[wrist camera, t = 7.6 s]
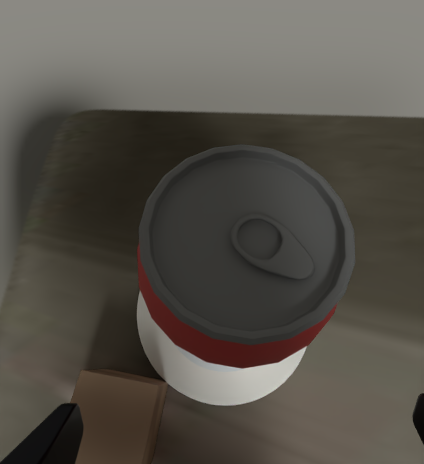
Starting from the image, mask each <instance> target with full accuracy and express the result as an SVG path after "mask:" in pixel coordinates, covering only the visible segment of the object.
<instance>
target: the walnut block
mask: <svg viewBox="0 0 424 464" xmlns="http://www.w3.org/2000/svg"><path fill="white" fill-rule="evenodd" d="M167 388H168V383H167V382H166V381H165V380H160V379H155V378H150V377H145V376H140V375H135V374H130V373H125V372H120V371H115V370H110V369H93V370H81V371H80V374H79V378H78V381H77V384H76V387H75V390H74V393H73V396H72V399H71V402H70V403H77V404H78V405H79V407H80V411H81V416H82V420H83V425H84V430H83V436H82V440H81V444H80V447H79V451H78V455H77V459H76V462H75V464H151V462H152V460H153V455H154V450H155V445H156V441H157V436H158V431H159V426H160V422H161V417H162V412H163V407H164V402H165V398H166V393H167Z"/></svg>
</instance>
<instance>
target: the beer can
mask: <svg viewBox="0 0 424 464" xmlns="http://www.w3.org/2000/svg"><path fill="white" fill-rule="evenodd" d="M137 257H138V276H139V288H140V291H141V293H142V296H143V298H144V301H145V303H146V306H147V308H148V311H149V313H150V315H151V318H152V319H153V320H154V321H155V323H156V324H157V325H158V326H159V327H160V328H161V329H162V331H163V332H164V333H165V334H166V335H167V336H168V337H169V339H170V340H171V341H172V342H173V343H174V344H175V345H177V346H178V347H180V348H182V349H184V350H185V351H187V352H189V353H191V354H193V355H194V356H196V357H198V358H200V359H201V360H203V361H205V362H207V363H212V364H218V365H224V366H229V367H235V368H241V369H244V368H250V367H256V366H262V365H268V364H273V363H279V362H280V361H282V360H284V359H286V358H287V357H289V356H291V355H292V354H294V353H296V352H298V351H299V350H301V349H303V348H305V347H306V346H308V345H309V344H310V343H311V342H312V340H313V339H314V338H315V337H316V335H317V334H318V333H319V332H320V331H321V329H322V328H323V327H324V326H325V324H326V323H327V322H328V321H329V320H330V318H331V317H332V315H333V314H334V312H335V309H336V306H337V303H338V301H339V300H340V299H341V298H342V296H343V295H344V294H345V292H346V289H347V286H348V283H349V280H350V277H351V273H352V270H353V267H354V264H355V244H354V229H353V227H352V224H351V222H350V219H349V216H348V214H347V211H346V209H345V206H344V203H343V201H342V200H341V199H340V197H339V196H338V195H337V193H336V192H335V191H334V190H333V188H332V187H331V186H330V185H329V183H328V182H327V181H326V179H325V178H324V177H323V176H321V175H320V174H319V173H317V172H316V171H315V170H313V169H312V168H310V167H309V166H308V165H306V164H305V163H304V162H302V161H301V160H300V159H297V158H295V157H292V156H290V155H287V154H285V153H282V152H280V151H277V150H275V149H272V148H266V147H258V146H251V145H243V144H241V145H233V146H224V147H216V148H212V149H209V150H207V151H204V152H201V153H199V154H196V155H194V156H191V157H189V158H186V159H185V160H184V161H183V162H181V163H180V164H179V165H177V166H176V167H175V168H173V169H172V170H171V171H170V172H168V173H167V174H166V175H164V176H163V178H162V179H161V181H160V182H159V183H158V185H157V186H156V188H155V189H154V191H153V192H152V193H151V195H150V196H149V198H148V199H147V202H146V205H145V208H144V212H143V215H142V219H141V222H140V226H139V245H138V248H137Z"/></svg>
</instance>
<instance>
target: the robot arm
mask: <svg viewBox="0 0 424 464" xmlns="http://www.w3.org/2000/svg"><path fill="white" fill-rule="evenodd" d="M413 423H414V426H415V428H416V430H417V432H418V434H419V436H420V438H421V440H422V442H423V444H424V393H422V394H420V395H419V396H418V399H417V402H416V405H415V409H414V412H413ZM83 430H84V425H83V420H82V416H81V411H80V407H79V405H78V404H77V403H64V404H61V405H60V406H58V407H57V408H56V409H55V410H54V411H53V412H52V413H51V414H50V415H49V416H48V417H47V418H46V419H45V420H44V421H43V422H42V423H41V424H40V425H39V426H38V427H37V428H36V429H34V430H33V431H32V432H31V433H30V434H29V435H28V436H27V437H26V438H25V439H24V440H23V441H22V442H21V443H20V444H19V445H18V446H17V447H16V448H15V449H14V450H13V451H12V452H11V453H10V454H8V455H7V456H6V457H5V458H4V459H3V460H2V461H1V462H0V464H75V462H76V459H77V455H78V451H79V447H80V444H81V440H82V436H83Z"/></svg>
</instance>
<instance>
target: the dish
mask: <svg viewBox="0 0 424 464" xmlns="http://www.w3.org/2000/svg"><path fill="white" fill-rule="evenodd" d="M137 325H138V332H139V336H140V341H141V344H142V346H143V349H144V352H145V354H146V356H147V357H148V359H149V361H150V363H151V365H152V366H153V367H154V369H155V370H156V371H157V373H158V374H159V375H160V376H161V377H162V378H163V379H164V380H165V381H166V382H167V383H168V384H169V385H170V386H172V387H173V388H174V389H175V390H177V391H178V392H180V393H182V394H184V395H185V396H187V397H189V398H192V399H194V400H197V401H199V402H203V403H208V404H212V405H224V406H229V405H240V404H244V403H248V402H252V401H254V400H257V399H259V398H262V397H264V396H266V395H267V394H269V393H271V392H272V391H274V390H275V389H277V388H278V387H279V386H280V385H281V384H283V383H284V382H285V381H286V380H287V379H288V377H289V376H290V375H291V374H292V373H293V372H294V370H295V369H296V367H297V366H298V364H299V363H300V361H301V359H302V357H303V355H304V353H305V350H306V347H307V346H306V347H305V348H303V349H301V350H299V351H298V352H296V353H294V354H292V355H291V356H289V357H287V358H286V359H284V360H282V361H280V362H279V363H273V364H268V365H262V366H256V367H250V368H244V369H241V368H235V367H229V366H224V365H218V364H212V363H207V362H205V361H203V360H201V359H200V358H198V357H196V356H194V355H193V354H191V353H189V352H187V351H185V350H184V349H182V348H180V347H178V346H177V345H175V344H174V343H173V342H172V341H171V340H170V339H169V337H168V336H167V335H166V334H165V333H164V332H163V331H162V329H161V328H160V327H159V326H158V325H157V324H156V323H155V321H154V320H153V319H152V318H151V315H150V313H149V311H148V308H147V306H146V303H145V301H144V298H143V296H142V293H141V291H140V293H139V297H138V304H137Z"/></svg>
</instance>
